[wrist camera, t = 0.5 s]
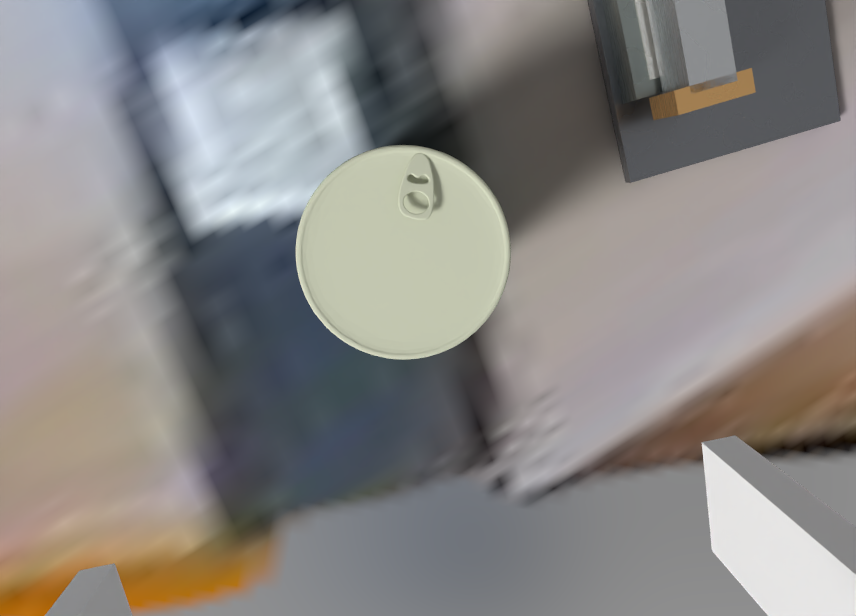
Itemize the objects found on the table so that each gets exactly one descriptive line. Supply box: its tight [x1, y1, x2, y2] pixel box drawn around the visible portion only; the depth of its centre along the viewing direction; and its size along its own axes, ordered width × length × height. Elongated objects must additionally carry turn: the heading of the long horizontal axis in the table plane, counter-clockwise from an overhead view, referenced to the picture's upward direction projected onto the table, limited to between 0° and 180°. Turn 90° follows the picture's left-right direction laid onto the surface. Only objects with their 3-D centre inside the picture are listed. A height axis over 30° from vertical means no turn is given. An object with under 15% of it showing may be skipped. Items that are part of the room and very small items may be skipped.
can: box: [296, 145, 511, 359], centre depth 31 cm, size 9×9×12 cm
